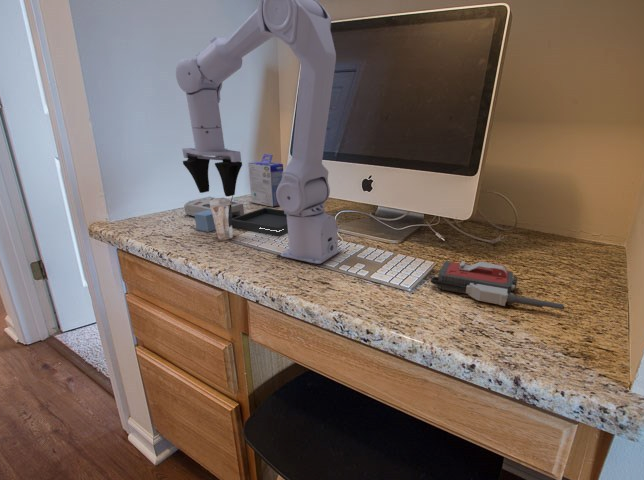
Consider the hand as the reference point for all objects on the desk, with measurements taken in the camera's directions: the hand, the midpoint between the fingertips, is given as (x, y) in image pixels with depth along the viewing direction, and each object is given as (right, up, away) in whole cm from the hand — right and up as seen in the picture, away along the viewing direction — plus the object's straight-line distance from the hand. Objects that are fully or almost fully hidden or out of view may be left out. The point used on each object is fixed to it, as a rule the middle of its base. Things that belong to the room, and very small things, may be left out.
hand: (217, 193), depth 82 cm
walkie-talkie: (+54, -21, -21) cm, 61 cm away
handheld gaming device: (-9, -2, +20) cm, 22 cm away
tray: (+9, -5, +13) cm, 17 cm away
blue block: (-6, -7, +10) cm, 13 cm away
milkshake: (+1, -10, +4) cm, 10 cm away
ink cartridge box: (+3, +3, +34) cm, 34 cm away
